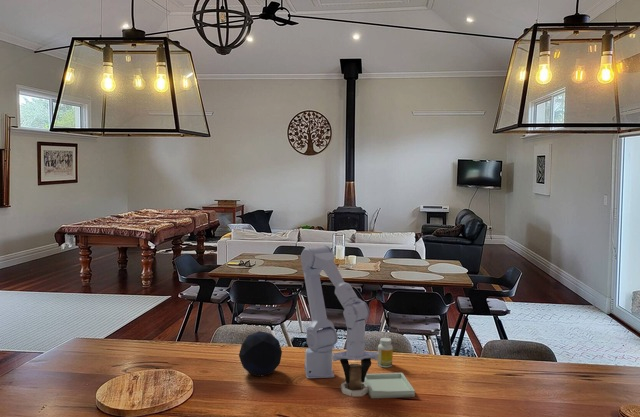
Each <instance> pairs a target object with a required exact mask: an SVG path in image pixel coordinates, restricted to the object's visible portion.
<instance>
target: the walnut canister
mask: <svg viewBox="0 0 640 417" xmlns="http://www.w3.org/2000/svg"><path fill="white" fill-rule="evenodd" d="M347 389H350V390H362V389H363V388H362V366H361V363H349V383H348V387H347Z"/></svg>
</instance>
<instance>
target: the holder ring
mask: <svg viewBox="0 0 640 417" xmlns="http://www.w3.org/2000/svg"><path fill="white" fill-rule="evenodd" d="M340 390H341V393H342V394H343V395H346V396H349V397H364V396H365V395H367V394H368V387H367V385H366V383H362V388H361V390H350V389H348V383H346V381H345V380H344V382H342V383H341V384H340Z"/></svg>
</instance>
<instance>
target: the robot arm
mask: <svg viewBox="0 0 640 417" xmlns="http://www.w3.org/2000/svg"><path fill="white" fill-rule="evenodd" d="M300 262H301V267H302V268H301V269H302V273H303V278H304V284H305V290H306V295H307V302H308V305H309V313H310V318H311V322H310V324H309V325H308V326H307V327H306V329H305V330H306V344H307V346H308V348H305V351H304V352H305V353H304V371H305V377H306V379H324V378H325V379H326V378H327V379H329V378H335V374H334V371H333V362H337V361H339V362H340V364H341V366H342V369H343V373H344V378H345V380H344V382H345V381H346V383H349V365H350V363H349V361H360V365H361V366H362V383H364V380H365V377H366V374H368V371H369V369H370V367H372V360H374V361H378V351H368V350H366V348H365V347H366V346H365V344H366V343H365V342H366V341H365V340H366V320H367V319H368V318H369V315H370V308H369V306H368V304H367V302H365V301H364V300H362V299H361V298H359V297H358V295H357V293H356V291H355V290H354V289H353V287H352V285H351V284H350V283H349V282H345V281H344V278H343V276H342V275H341V273H340V271H339V269H338V266H337V264H336V263H335V254H334V252H333V250H332V248H331V246H329V245H322V246H314V247H305V248H303V250H302V252H301V254H300ZM322 271H323V272H324V273H325V275H326V276H327V278H328V279H329V280H330V282H331V283H332V284H333V286H334V295H335V296H336V297H337V300H338V301H339V303H340V304H341V307H342V308H343V309H344V310H343V311H342V314H343V317H344V320H345V326H346V351H341V352H333V349H334V348H335V345H336V344H337V342H338V333H337V331H336V328H335V325H334V322H332V321H331V320H330V319H328V316H327V310H326V305H325V299H324V294H323V288H322V283H321V276H320V274H321V273H322Z"/></svg>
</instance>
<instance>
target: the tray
mask: <svg viewBox="0 0 640 417" xmlns="http://www.w3.org/2000/svg"><path fill="white" fill-rule="evenodd" d="M364 383H366V385H367V387H368V393H367V394H368V395H369V398H370V399H391V398H392V399H393V398H411V397H412V398H415V396H416V390H415V389H414V387H413V385H412V384H411V383H410V382H409V379H407V377H406V376H405V374H404V372H387V373H386V372H385V373H384V372H383V373H381V372H379V373H367V374H366V377H365V380H364Z"/></svg>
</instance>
